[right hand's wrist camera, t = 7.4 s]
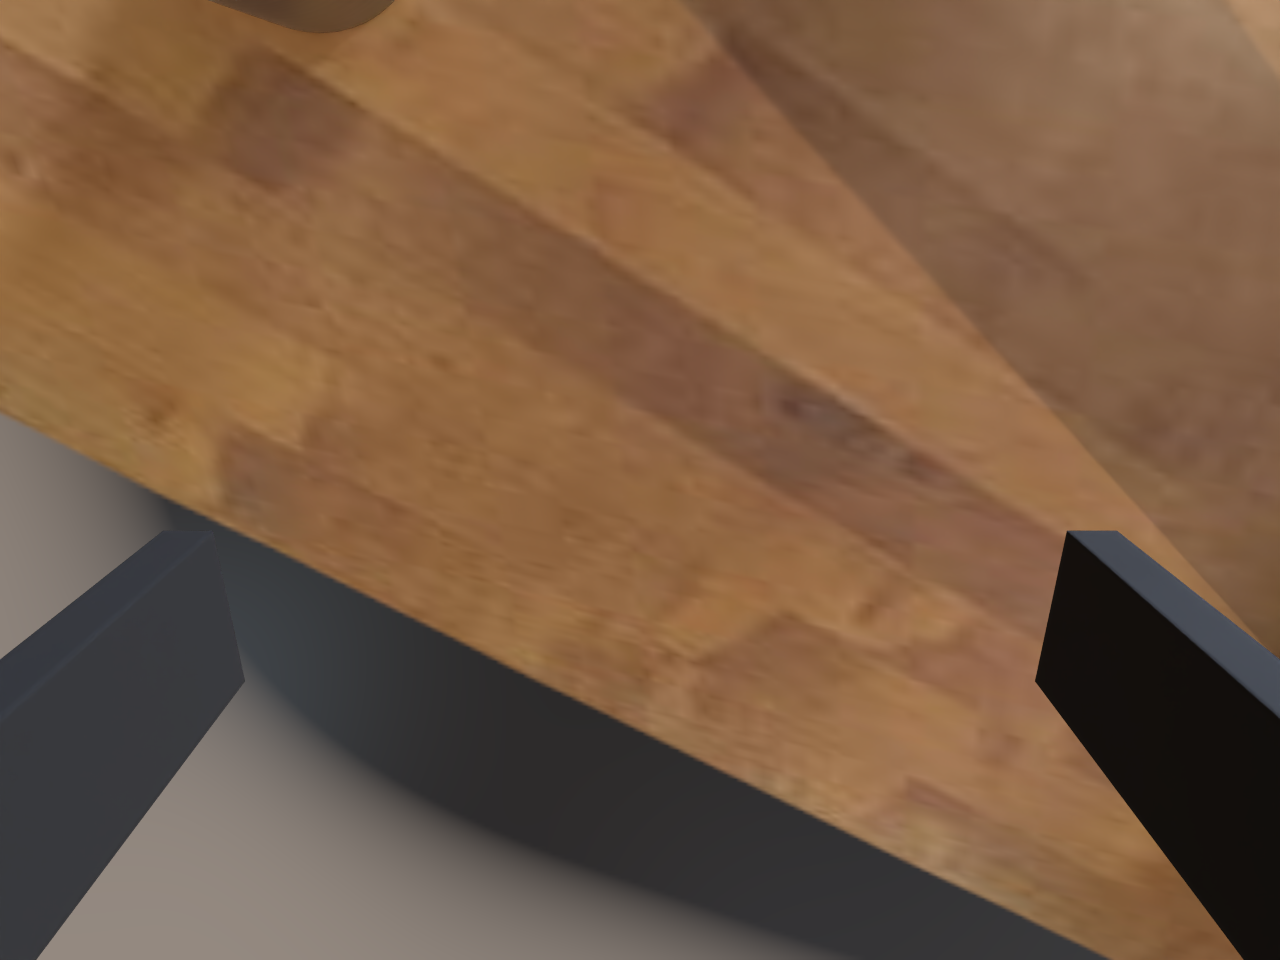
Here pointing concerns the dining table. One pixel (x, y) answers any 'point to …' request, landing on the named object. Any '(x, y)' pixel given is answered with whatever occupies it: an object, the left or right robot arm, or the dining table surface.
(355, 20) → the jar
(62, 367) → the dining table surface
